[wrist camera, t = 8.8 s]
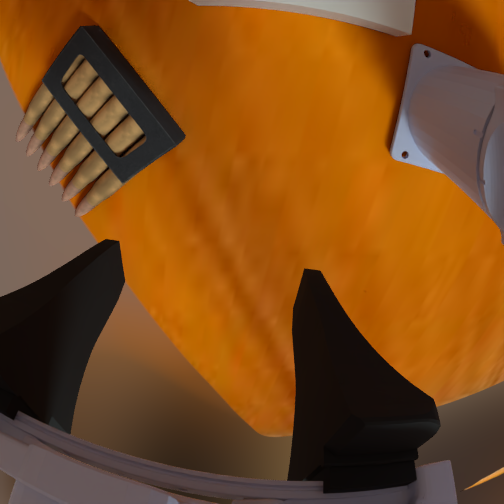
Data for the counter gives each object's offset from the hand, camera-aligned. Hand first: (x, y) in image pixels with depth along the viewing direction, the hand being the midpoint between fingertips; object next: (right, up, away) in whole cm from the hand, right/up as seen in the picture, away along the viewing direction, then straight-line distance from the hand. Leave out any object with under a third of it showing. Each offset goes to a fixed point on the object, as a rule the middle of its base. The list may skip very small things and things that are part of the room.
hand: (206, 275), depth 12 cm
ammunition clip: (-5, +12, +4) cm, 14 cm away
